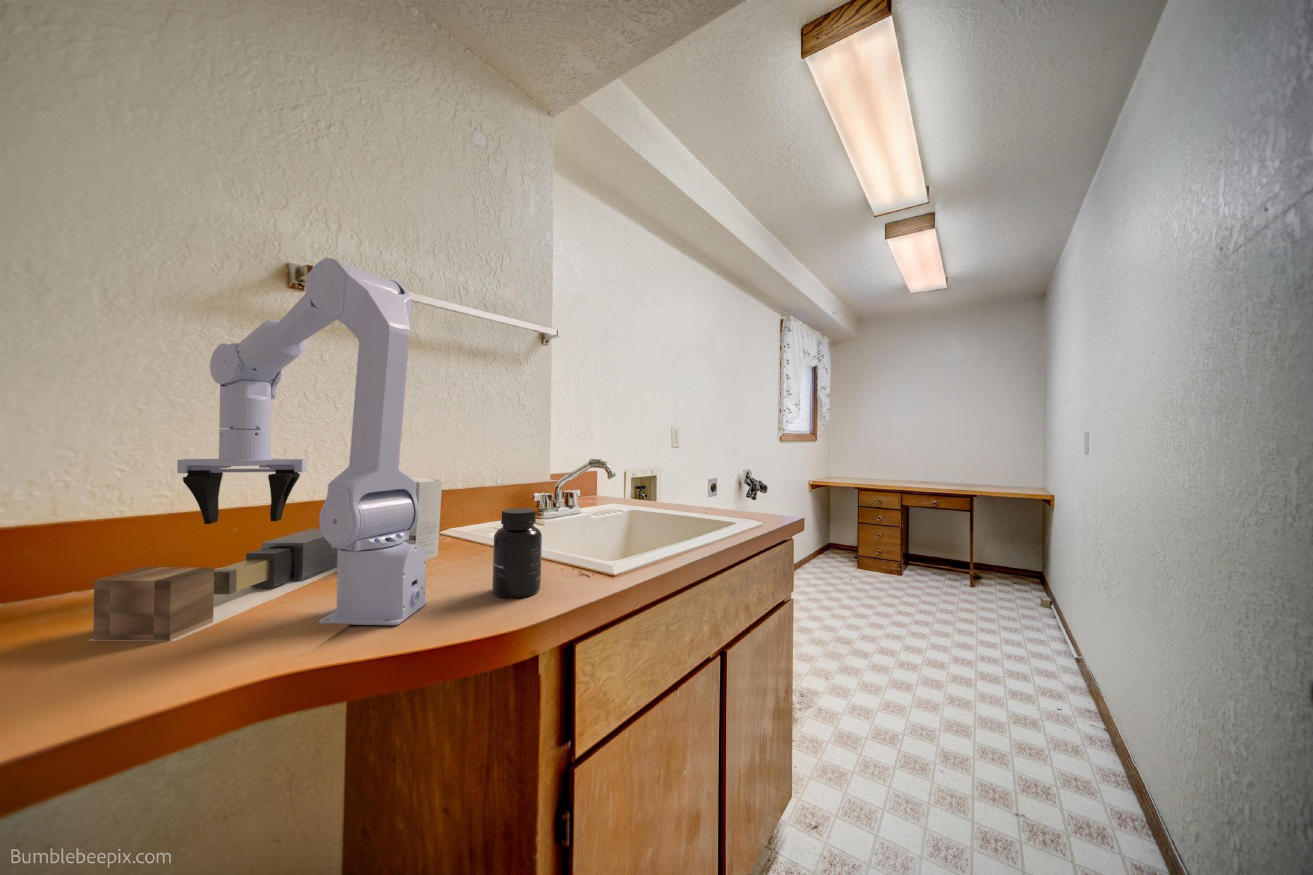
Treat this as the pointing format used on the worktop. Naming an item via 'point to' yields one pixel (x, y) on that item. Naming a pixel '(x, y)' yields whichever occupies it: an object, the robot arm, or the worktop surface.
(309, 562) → the sleeve
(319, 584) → the worktop surface
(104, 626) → the socket
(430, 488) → the skincare box
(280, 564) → the plug
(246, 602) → the board
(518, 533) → the supplement bottle
